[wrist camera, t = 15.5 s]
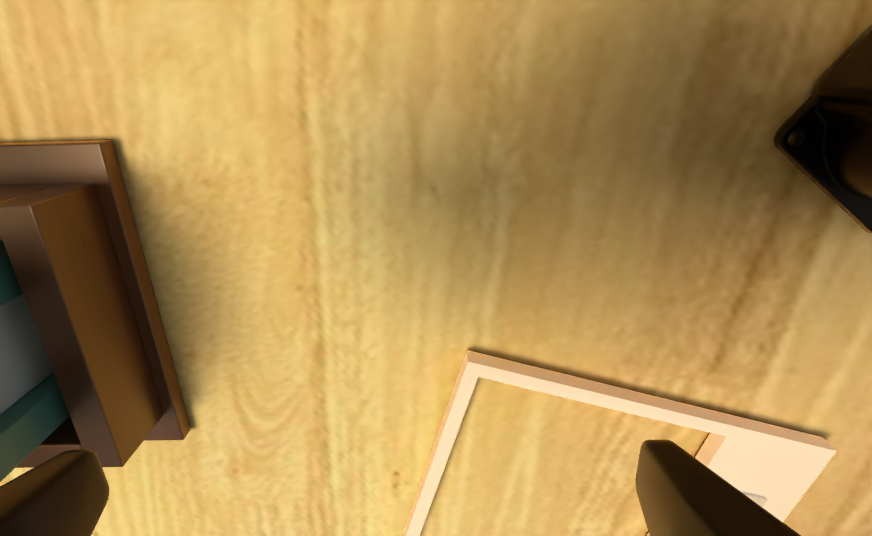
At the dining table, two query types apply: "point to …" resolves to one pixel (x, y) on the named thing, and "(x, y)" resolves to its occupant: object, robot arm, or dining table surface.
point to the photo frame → (721, 452)
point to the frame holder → (88, 298)
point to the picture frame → (23, 377)
